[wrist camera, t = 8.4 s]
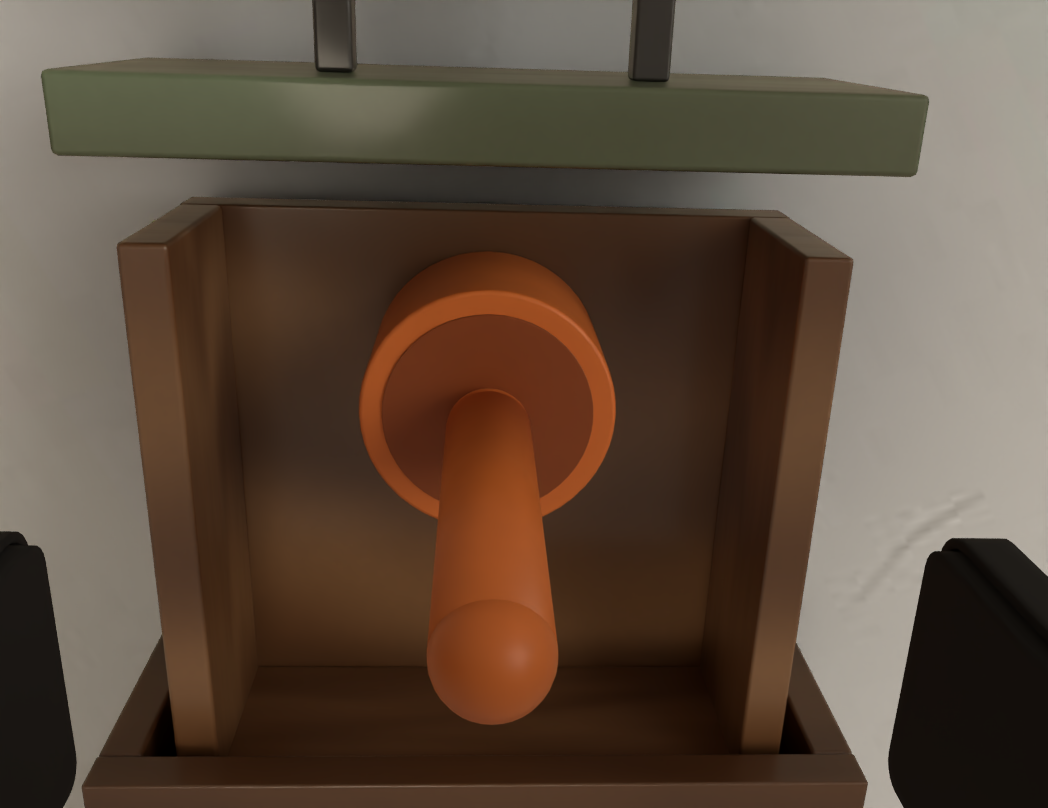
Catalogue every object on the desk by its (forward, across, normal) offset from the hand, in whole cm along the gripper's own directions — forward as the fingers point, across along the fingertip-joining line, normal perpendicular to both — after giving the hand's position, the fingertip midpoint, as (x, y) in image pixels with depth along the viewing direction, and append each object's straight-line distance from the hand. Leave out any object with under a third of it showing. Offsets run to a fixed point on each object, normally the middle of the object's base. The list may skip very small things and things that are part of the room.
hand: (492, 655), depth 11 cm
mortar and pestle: (+10, 0, 0) cm, 10 cm away
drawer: (+11, 0, -1) cm, 11 cm away
